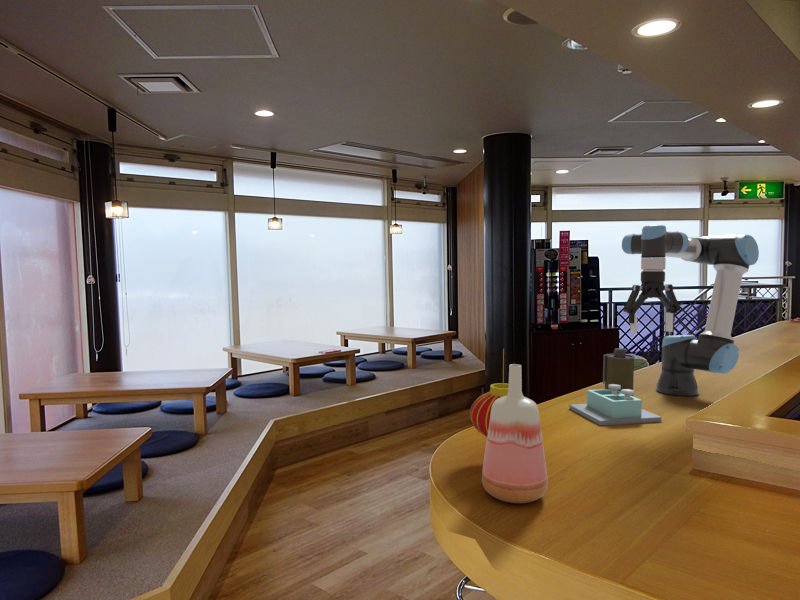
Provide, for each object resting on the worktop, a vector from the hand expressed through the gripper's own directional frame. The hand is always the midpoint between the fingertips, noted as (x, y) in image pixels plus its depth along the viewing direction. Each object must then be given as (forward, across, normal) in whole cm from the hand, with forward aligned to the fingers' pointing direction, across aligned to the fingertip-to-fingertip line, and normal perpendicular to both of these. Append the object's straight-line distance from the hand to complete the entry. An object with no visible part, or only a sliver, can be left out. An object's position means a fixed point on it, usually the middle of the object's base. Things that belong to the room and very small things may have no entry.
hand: (651, 332), depth 181 cm
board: (+28, +14, 0) cm, 31 cm away
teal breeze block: (+27, +14, 0) cm, 30 cm away
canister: (+28, +2, -16) cm, 33 cm away
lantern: (+28, +67, +34) cm, 80 cm away
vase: (+28, +72, +54) cm, 94 cm away
